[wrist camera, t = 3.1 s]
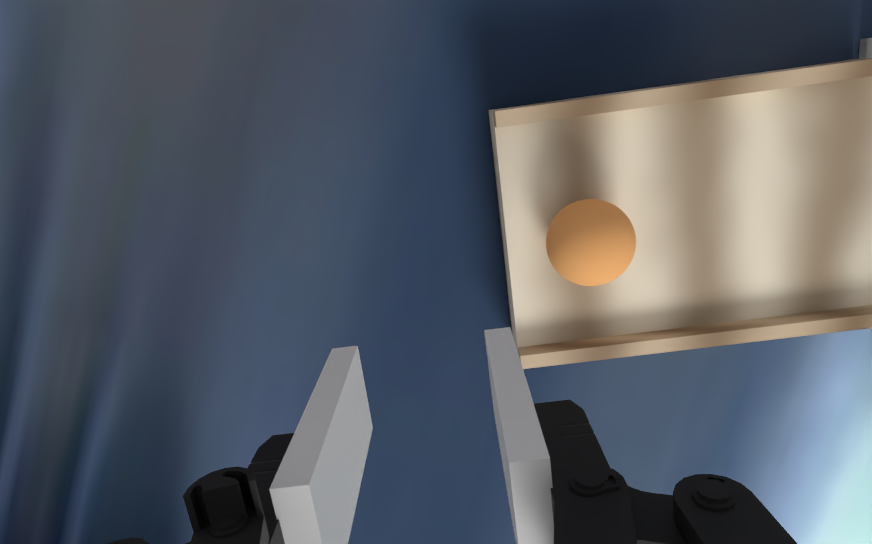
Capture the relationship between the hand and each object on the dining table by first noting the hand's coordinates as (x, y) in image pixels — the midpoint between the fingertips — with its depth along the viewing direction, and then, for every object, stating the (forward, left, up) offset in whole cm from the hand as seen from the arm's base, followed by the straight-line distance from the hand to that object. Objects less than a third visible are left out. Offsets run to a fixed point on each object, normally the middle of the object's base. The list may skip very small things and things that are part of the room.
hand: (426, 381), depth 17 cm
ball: (+8, 0, -13) cm, 16 cm away
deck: (+14, 0, -19) cm, 23 cm away
